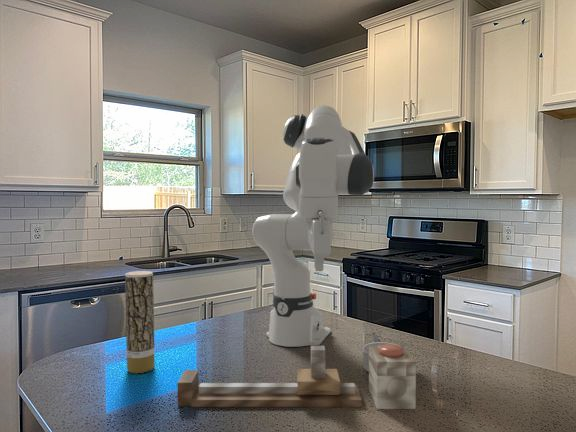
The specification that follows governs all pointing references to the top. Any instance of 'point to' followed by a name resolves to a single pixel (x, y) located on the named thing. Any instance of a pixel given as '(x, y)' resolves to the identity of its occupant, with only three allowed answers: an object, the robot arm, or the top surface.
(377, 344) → the saucepan
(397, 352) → the button
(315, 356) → the carriage
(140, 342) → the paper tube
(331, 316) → the top surface
